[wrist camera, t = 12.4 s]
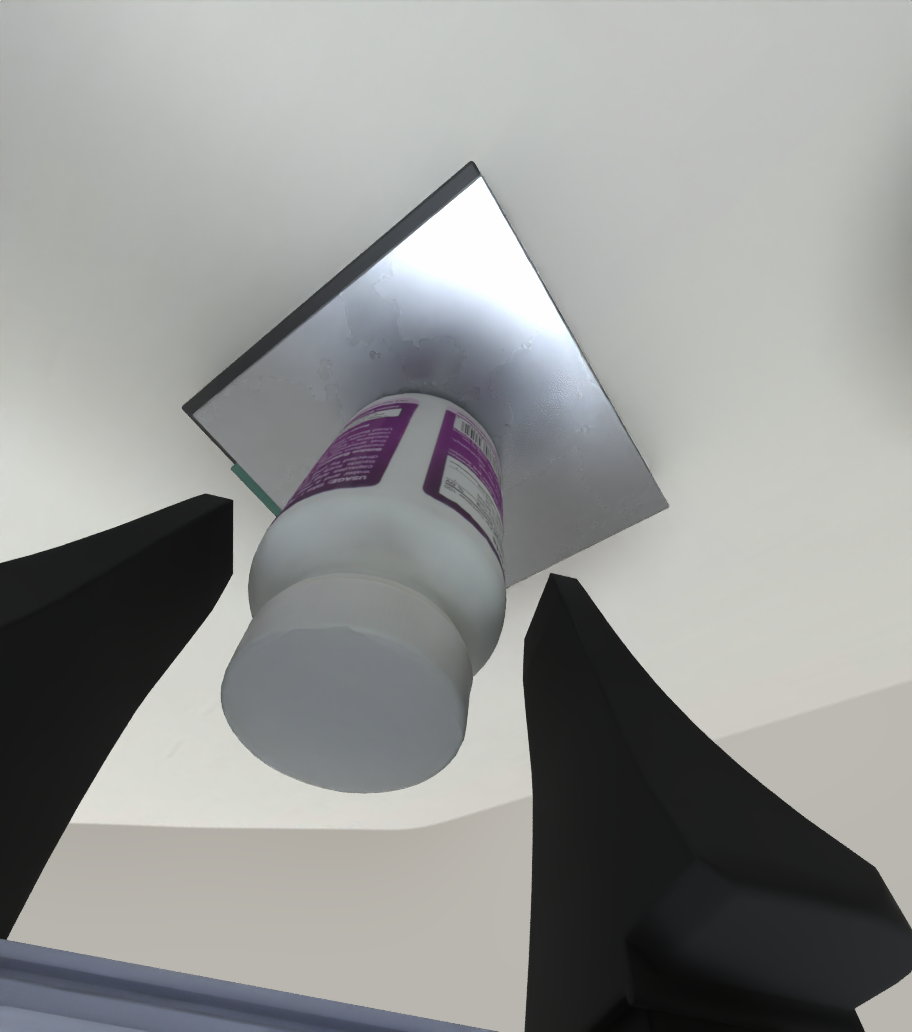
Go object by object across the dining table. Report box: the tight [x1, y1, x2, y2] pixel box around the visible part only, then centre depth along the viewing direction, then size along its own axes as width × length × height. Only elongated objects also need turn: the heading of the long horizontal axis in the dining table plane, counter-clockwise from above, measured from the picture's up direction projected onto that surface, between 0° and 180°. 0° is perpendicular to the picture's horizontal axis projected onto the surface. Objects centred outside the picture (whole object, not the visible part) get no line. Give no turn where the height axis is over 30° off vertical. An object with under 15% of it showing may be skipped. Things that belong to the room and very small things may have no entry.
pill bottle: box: [221, 393, 506, 793], centre depth 12 cm, size 5×5×10 cm
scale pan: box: [193, 175, 669, 588], centre depth 17 cm, size 11×11×1 cm
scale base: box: [182, 161, 481, 517], centre depth 18 cm, size 12×12×2 cm
